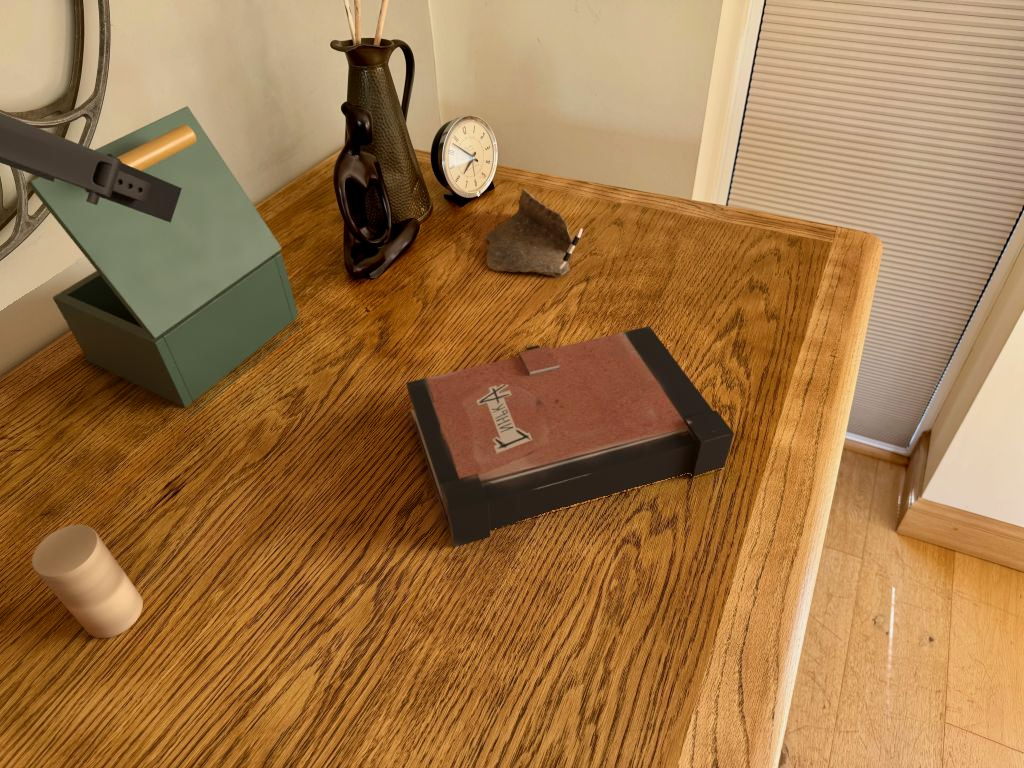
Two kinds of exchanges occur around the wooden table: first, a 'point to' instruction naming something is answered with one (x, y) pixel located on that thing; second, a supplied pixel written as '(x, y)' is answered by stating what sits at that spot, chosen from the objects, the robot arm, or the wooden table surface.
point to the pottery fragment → (531, 240)
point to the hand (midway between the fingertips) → (112, 184)
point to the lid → (166, 225)
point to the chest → (181, 332)
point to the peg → (88, 580)
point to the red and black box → (561, 429)
